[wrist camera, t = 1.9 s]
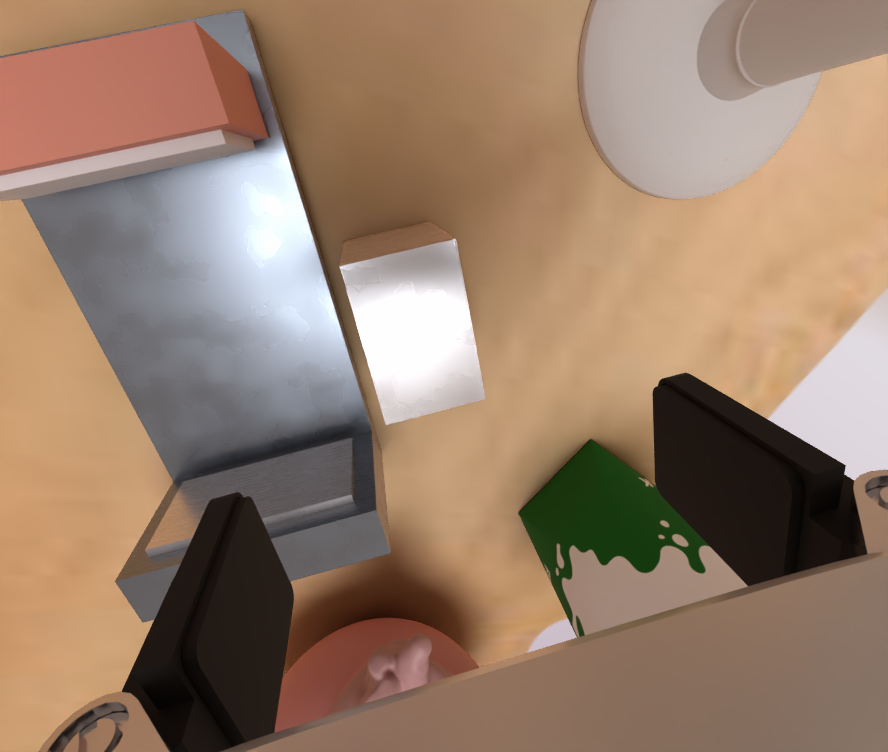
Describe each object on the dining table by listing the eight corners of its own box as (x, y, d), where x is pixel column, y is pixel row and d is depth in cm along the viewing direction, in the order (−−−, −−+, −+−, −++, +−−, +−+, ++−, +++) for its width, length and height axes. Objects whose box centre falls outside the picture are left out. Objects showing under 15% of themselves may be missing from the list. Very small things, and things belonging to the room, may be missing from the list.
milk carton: (669, 484, 34) (1022, 837, 16) (580, 568, 36) (808, 971, 18) (591, 421, 31) (921, 774, 13) (497, 517, 33) (673, 945, 15)
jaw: (246, 69, 19) (193, 20, 13) (271, 147, 21) (234, 138, 14) (-11, 121, 19) (-201, 96, 12) (30, 199, 20) (-122, 213, 14)
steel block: (430, 221, 25) (456, 239, 18) (455, 346, 28) (485, 398, 21) (343, 241, 24) (339, 266, 18) (378, 365, 27) (385, 425, 21)
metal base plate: (250, 20, 20) (184, -72, 12) (381, 452, 29) (390, 553, 22) (-22, 73, 19) (-271, 9, 12) (200, 500, 29) (142, 622, 21)
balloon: (521, 522, 33) (640, 775, 19) (450, 714, 40) (500, 1003, 26) (291, 499, 30) (234, 793, 16) (256, 716, 36) (194, 1054, 23)
